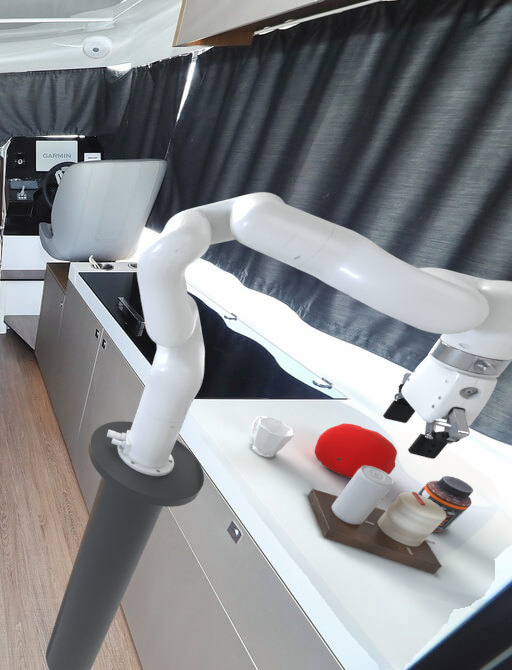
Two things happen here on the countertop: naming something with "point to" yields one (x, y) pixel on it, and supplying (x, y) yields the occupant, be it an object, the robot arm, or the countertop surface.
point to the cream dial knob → (411, 518)
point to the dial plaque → (369, 535)
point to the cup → (270, 435)
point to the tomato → (354, 450)
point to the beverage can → (362, 494)
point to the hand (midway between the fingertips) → (406, 436)
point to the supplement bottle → (448, 498)
